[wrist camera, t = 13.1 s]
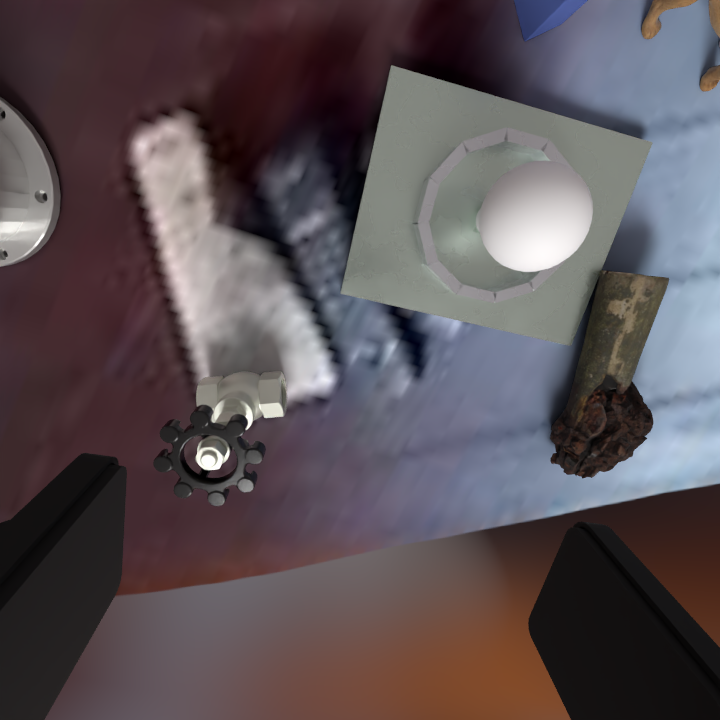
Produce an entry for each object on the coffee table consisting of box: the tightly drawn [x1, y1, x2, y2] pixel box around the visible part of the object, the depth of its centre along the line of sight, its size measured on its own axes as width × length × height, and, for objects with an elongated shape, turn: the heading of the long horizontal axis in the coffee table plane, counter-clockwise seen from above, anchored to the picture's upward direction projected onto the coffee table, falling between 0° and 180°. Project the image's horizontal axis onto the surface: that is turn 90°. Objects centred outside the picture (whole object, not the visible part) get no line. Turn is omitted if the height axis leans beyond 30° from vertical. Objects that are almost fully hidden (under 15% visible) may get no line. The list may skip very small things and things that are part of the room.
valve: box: [153, 371, 287, 506], centre depth 31 cm, size 7×7×12 cm
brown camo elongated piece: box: [550, 270, 669, 478], centre depth 35 cm, size 18×7×6 cm, turn 172°
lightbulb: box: [476, 161, 593, 272], centre depth 27 cm, size 6×6×11 cm
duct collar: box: [341, 65, 652, 346], centre depth 32 cm, size 20×16×3 cm
